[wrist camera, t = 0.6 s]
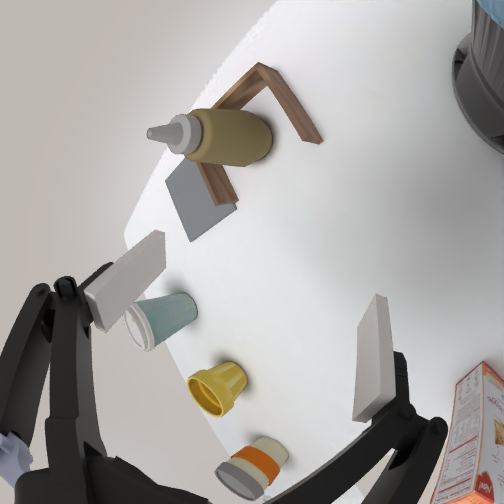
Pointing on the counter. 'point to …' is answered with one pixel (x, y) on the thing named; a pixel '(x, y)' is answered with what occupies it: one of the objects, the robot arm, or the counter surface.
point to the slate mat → (194, 200)
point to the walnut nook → (235, 101)
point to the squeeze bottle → (216, 136)
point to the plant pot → (217, 387)
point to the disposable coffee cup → (158, 319)
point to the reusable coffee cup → (253, 468)
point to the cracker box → (474, 443)
